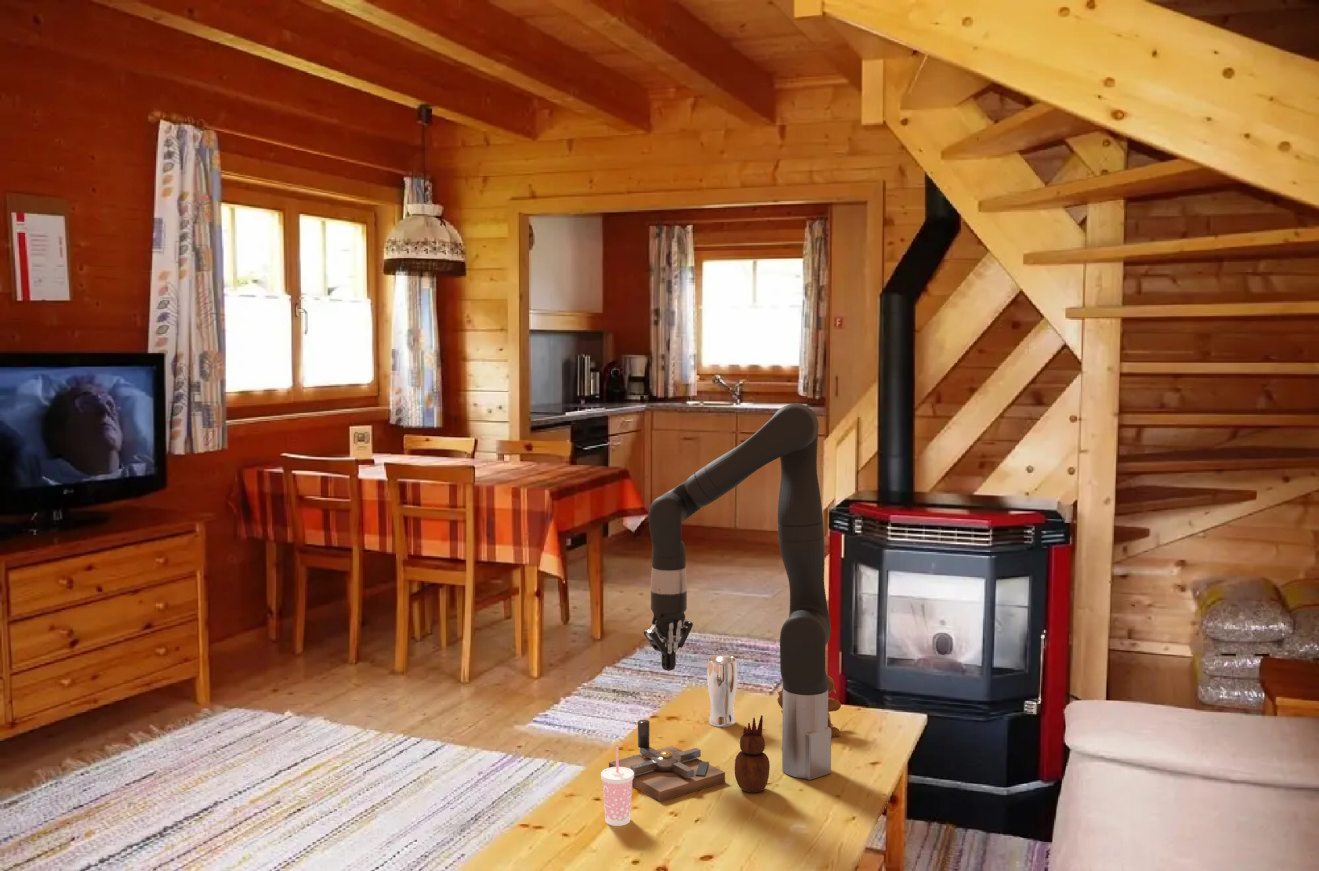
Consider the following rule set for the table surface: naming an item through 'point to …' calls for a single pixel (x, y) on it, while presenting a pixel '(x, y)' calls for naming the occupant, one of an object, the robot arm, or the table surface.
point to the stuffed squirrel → (832, 706)
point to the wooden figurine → (752, 760)
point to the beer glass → (722, 689)
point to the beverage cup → (617, 793)
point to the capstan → (662, 756)
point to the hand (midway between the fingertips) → (668, 669)
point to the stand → (672, 777)
